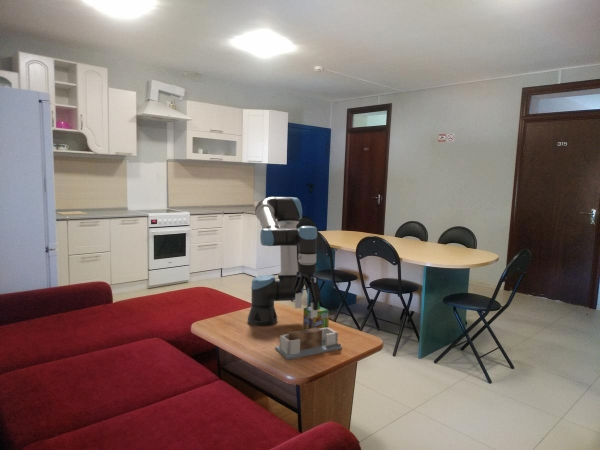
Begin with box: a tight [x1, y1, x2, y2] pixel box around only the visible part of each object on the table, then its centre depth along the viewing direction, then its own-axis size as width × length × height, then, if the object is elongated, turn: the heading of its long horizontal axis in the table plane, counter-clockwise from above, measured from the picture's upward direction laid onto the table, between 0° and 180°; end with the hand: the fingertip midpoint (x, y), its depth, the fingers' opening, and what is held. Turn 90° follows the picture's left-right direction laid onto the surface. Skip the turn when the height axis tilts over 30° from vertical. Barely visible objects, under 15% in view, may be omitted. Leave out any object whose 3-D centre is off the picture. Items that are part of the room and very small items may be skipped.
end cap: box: [320, 326, 339, 346], centre depth 176 cm, size 8×6×5 cm
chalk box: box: [302, 302, 330, 330], centre depth 192 cm, size 9×9×15 cm
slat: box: [288, 328, 322, 350], centre depth 171 cm, size 14×4×7 cm, turn 118°
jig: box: [274, 333, 343, 360], centre depth 172 cm, size 12×26×6 cm, turn 118°
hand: (305, 312), depth 170 cm, fingers open, 13 cm apart
